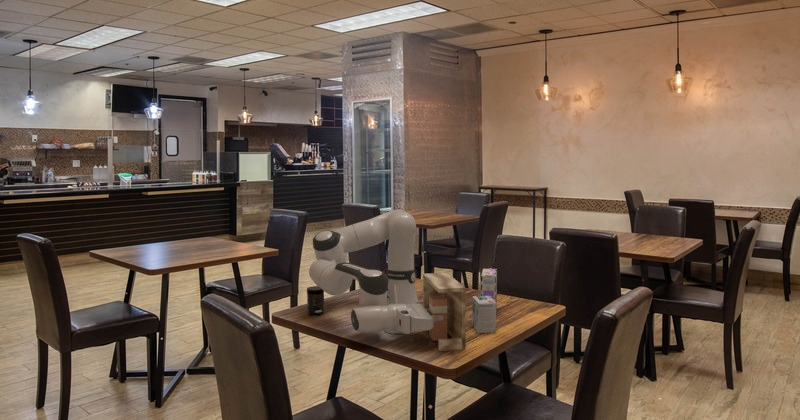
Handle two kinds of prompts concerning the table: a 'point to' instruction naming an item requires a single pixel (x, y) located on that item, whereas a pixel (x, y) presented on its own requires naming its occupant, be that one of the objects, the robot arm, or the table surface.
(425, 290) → the shelf
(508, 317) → the table surface
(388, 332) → the disc
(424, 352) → the table surface
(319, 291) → the supplement container
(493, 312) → the light bulb box
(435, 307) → the carton
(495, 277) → the candy box
